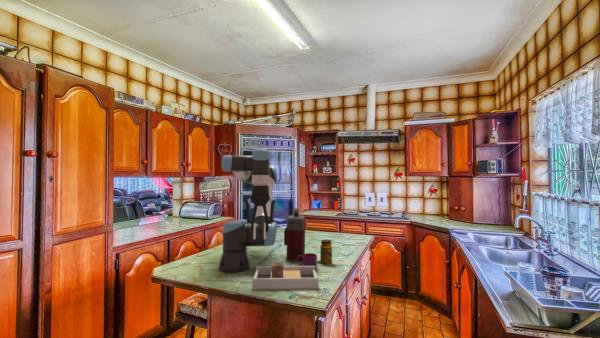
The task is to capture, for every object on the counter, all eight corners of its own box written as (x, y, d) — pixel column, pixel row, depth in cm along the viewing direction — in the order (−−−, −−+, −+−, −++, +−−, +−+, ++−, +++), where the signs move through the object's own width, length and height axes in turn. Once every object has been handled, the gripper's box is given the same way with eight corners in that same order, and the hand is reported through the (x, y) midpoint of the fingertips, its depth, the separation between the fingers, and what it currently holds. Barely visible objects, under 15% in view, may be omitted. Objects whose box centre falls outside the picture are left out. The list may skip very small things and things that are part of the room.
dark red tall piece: (285, 255, 159) (285, 206, 159) (304, 256, 157) (305, 207, 158) (282, 260, 150) (282, 208, 150) (302, 261, 148) (303, 209, 149)
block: (271, 277, 118) (271, 265, 118) (272, 273, 123) (272, 262, 123) (283, 277, 118) (283, 265, 118) (283, 273, 123) (283, 262, 123)
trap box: (252, 289, 112) (252, 279, 112) (256, 274, 128) (256, 266, 128) (318, 288, 113) (318, 278, 114) (314, 274, 129) (314, 265, 129)
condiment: (334, 264, 144) (334, 241, 144) (318, 266, 142) (318, 242, 142) (329, 260, 151) (329, 238, 151) (314, 261, 149) (315, 239, 149)
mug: (315, 271, 133) (315, 257, 133) (295, 269, 136) (295, 255, 136) (317, 267, 140) (318, 253, 140) (298, 265, 142) (299, 252, 142)
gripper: (239, 185, 117) (238, 240, 116) (279, 185, 118) (278, 240, 117) (242, 184, 124) (241, 236, 124) (279, 184, 125) (279, 236, 125)
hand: (259, 238), depth 121 cm, fingers open, 4 cm apart
